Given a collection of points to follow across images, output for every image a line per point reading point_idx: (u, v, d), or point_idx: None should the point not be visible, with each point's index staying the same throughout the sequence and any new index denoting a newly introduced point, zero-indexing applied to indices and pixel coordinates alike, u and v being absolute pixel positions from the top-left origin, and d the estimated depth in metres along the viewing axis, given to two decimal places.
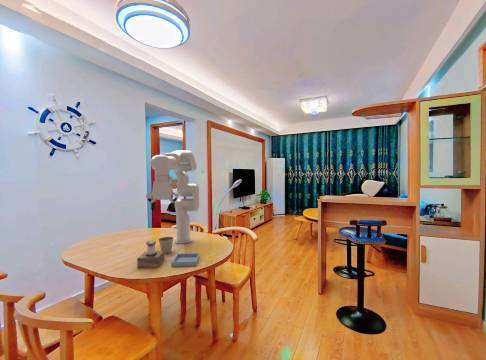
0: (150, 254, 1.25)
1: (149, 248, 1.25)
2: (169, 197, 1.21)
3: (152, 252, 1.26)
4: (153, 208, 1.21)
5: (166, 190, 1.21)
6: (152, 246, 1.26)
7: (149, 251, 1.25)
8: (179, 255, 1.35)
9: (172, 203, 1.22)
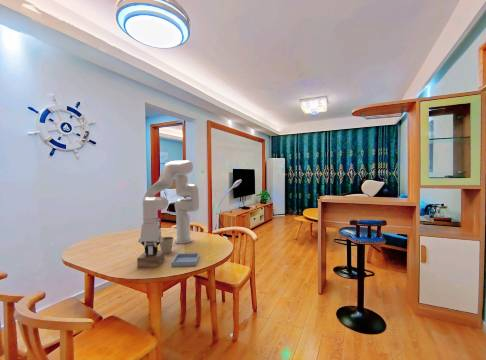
0: (150, 254, 1.25)
1: (149, 248, 1.25)
2: (157, 239, 1.25)
3: (152, 252, 1.26)
4: (146, 252, 1.26)
5: (154, 232, 1.25)
6: (152, 246, 1.26)
7: (149, 251, 1.25)
8: (179, 255, 1.35)
9: (155, 247, 1.26)
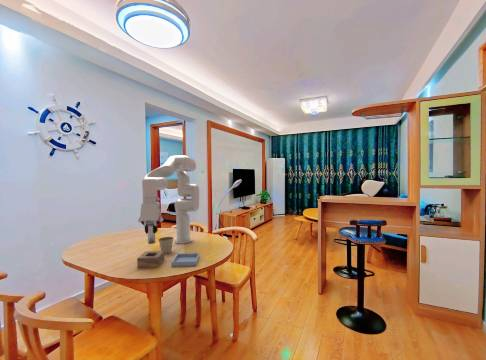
0: (150, 233, 1.25)
1: (149, 227, 1.25)
2: (157, 218, 1.25)
3: (152, 231, 1.26)
4: (146, 231, 1.26)
5: (154, 212, 1.24)
6: (152, 225, 1.26)
7: (149, 230, 1.25)
8: (179, 255, 1.35)
9: (155, 226, 1.26)
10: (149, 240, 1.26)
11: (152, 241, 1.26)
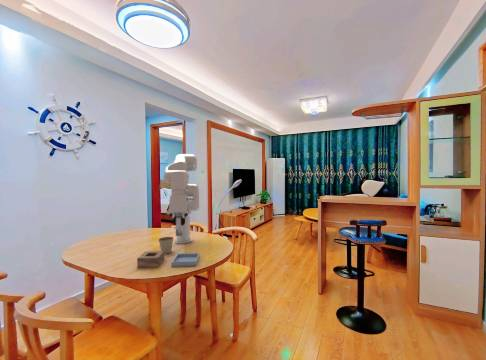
0: (178, 225, 1.26)
1: (177, 219, 1.26)
2: (185, 210, 1.26)
3: (180, 223, 1.27)
4: (175, 223, 1.27)
5: (182, 204, 1.26)
6: (180, 217, 1.27)
7: (177, 222, 1.26)
8: (179, 255, 1.35)
9: (183, 218, 1.27)
10: (177, 232, 1.26)
11: (180, 233, 1.27)
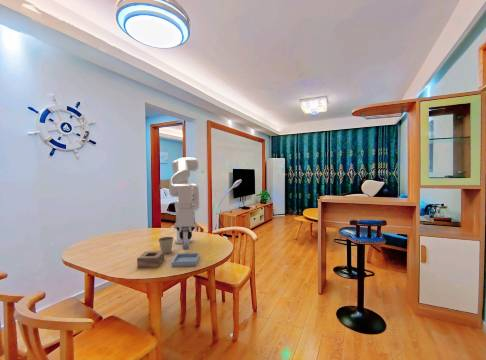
0: (185, 239, 1.27)
1: (184, 233, 1.27)
2: (192, 224, 1.27)
3: (187, 237, 1.27)
4: (181, 237, 1.27)
5: (189, 218, 1.26)
6: (187, 231, 1.27)
7: (184, 236, 1.27)
8: (179, 255, 1.35)
9: (190, 232, 1.28)
10: (184, 246, 1.27)
11: (187, 247, 1.27)
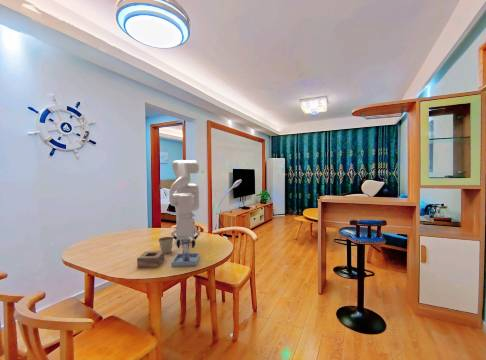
0: (185, 251, 1.27)
1: (184, 245, 1.27)
2: (192, 234, 1.27)
3: (187, 249, 1.28)
4: (178, 245, 1.27)
5: (189, 228, 1.26)
6: (187, 243, 1.28)
7: (184, 248, 1.27)
8: (179, 255, 1.35)
9: (193, 241, 1.28)
10: (184, 258, 1.27)
11: (187, 259, 1.28)
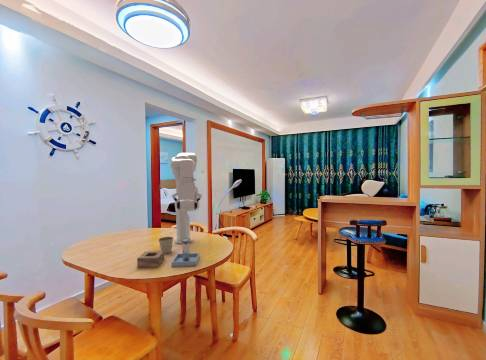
0: (185, 251, 1.27)
1: (184, 245, 1.27)
2: (193, 197, 1.33)
3: (187, 249, 1.28)
4: (179, 207, 1.33)
5: (190, 191, 1.32)
6: (187, 243, 1.28)
7: (184, 248, 1.27)
8: (179, 255, 1.35)
9: (196, 203, 1.34)
10: (184, 258, 1.27)
11: (187, 259, 1.28)
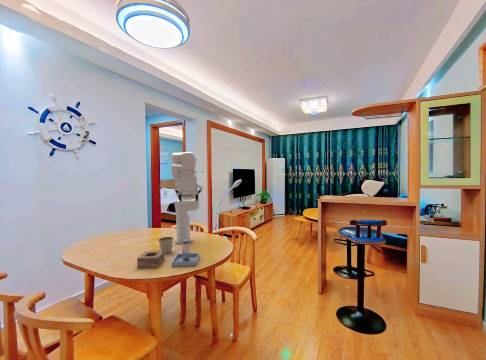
0: (185, 251, 1.27)
1: (184, 245, 1.27)
2: (194, 189, 1.36)
3: (187, 249, 1.28)
4: (180, 199, 1.37)
5: (192, 183, 1.36)
6: (187, 243, 1.28)
7: (184, 248, 1.27)
8: (179, 255, 1.35)
9: (197, 194, 1.38)
10: (184, 258, 1.27)
11: (187, 259, 1.28)
